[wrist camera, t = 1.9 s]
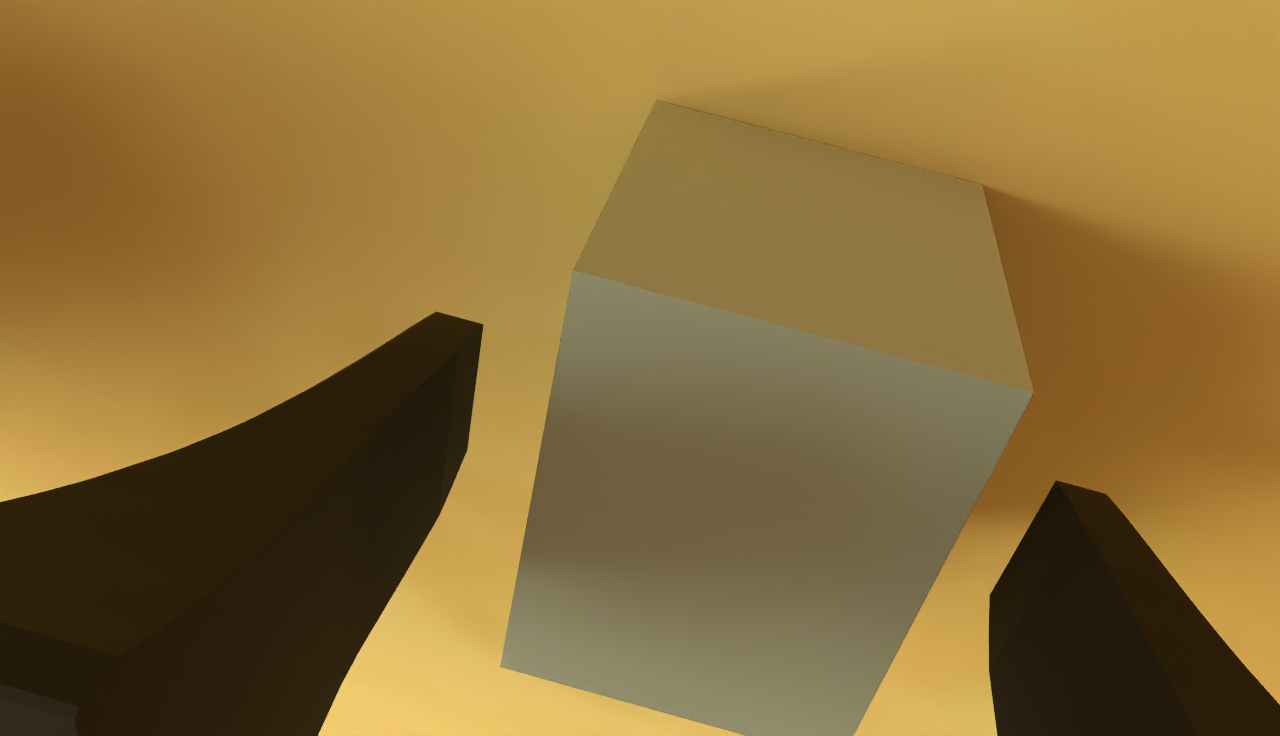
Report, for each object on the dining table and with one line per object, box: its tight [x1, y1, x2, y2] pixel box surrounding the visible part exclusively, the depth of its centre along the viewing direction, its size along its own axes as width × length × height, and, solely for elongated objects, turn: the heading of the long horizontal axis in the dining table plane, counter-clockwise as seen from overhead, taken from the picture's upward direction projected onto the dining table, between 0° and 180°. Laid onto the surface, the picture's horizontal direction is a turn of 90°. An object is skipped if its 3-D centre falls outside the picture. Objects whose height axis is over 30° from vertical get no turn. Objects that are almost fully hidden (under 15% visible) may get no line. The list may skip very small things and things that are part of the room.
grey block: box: [500, 100, 1034, 736], centre depth 14 cm, size 4×8×5 cm, turn 169°
